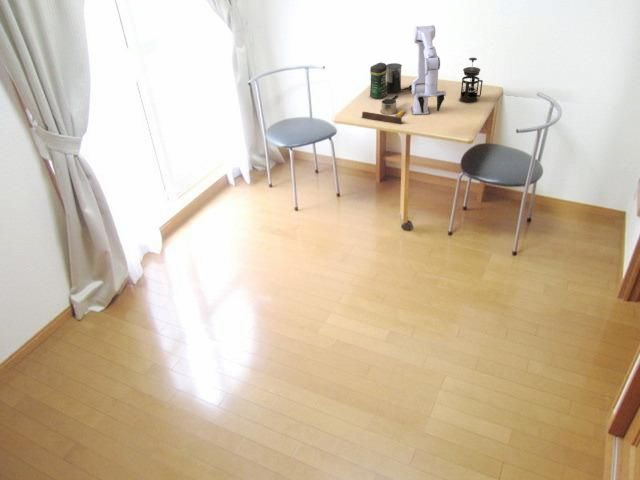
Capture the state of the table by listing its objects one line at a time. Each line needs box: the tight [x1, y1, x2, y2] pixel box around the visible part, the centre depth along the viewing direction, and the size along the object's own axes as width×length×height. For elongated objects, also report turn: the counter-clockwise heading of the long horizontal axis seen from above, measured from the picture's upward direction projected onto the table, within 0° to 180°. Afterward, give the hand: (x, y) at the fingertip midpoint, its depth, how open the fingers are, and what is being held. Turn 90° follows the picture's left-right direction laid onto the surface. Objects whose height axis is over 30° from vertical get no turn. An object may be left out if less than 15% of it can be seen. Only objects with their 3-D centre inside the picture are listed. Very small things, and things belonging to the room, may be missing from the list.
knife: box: [395, 109, 405, 118], centre depth 274 cm, size 12×2×1 cm, turn 150°
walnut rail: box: [361, 111, 403, 125], centre depth 272 cm, size 22×2×3 cm, turn 61°
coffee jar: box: [369, 62, 387, 99], centre depth 294 cm, size 10×8×19 cm
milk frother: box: [386, 62, 412, 94], centre depth 299 cm, size 14×16×15 cm
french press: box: [459, 57, 484, 104], centre depth 279 cm, size 12×9×23 cm
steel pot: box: [380, 94, 399, 115], centre depth 282 cm, size 15×8×6 cm, turn 150°
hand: (430, 111), depth 252 cm, fingers open, 7 cm apart
